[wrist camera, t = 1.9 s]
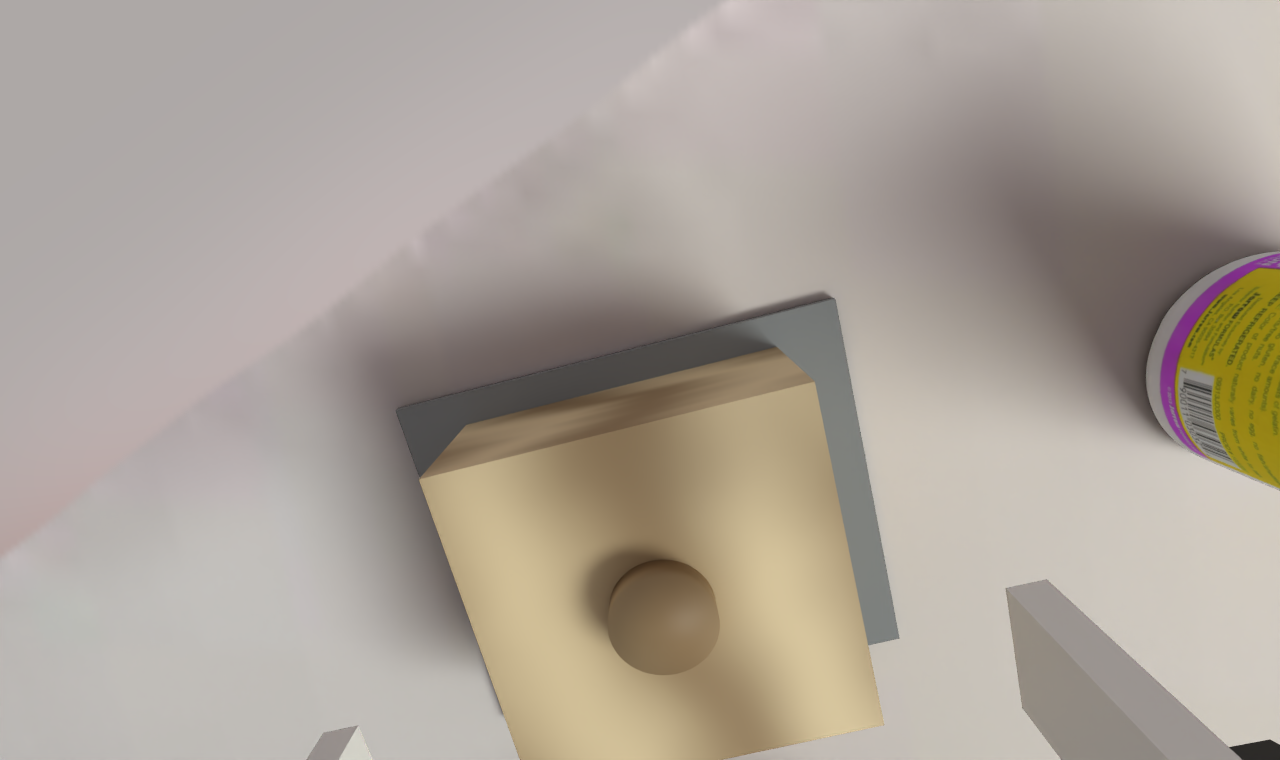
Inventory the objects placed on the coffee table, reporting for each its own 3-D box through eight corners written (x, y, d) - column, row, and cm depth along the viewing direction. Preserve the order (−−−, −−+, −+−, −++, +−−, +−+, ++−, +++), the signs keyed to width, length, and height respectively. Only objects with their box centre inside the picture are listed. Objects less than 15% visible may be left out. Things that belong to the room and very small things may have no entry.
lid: (554, 689, 23) (529, 824, 18) (466, 424, 21) (407, 492, 15) (836, 626, 22) (895, 748, 17) (777, 347, 20) (823, 390, 15)
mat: (510, 718, 23) (508, 724, 23) (399, 408, 21) (395, 410, 20) (895, 632, 23) (899, 638, 22) (832, 297, 20) (835, 298, 20)
